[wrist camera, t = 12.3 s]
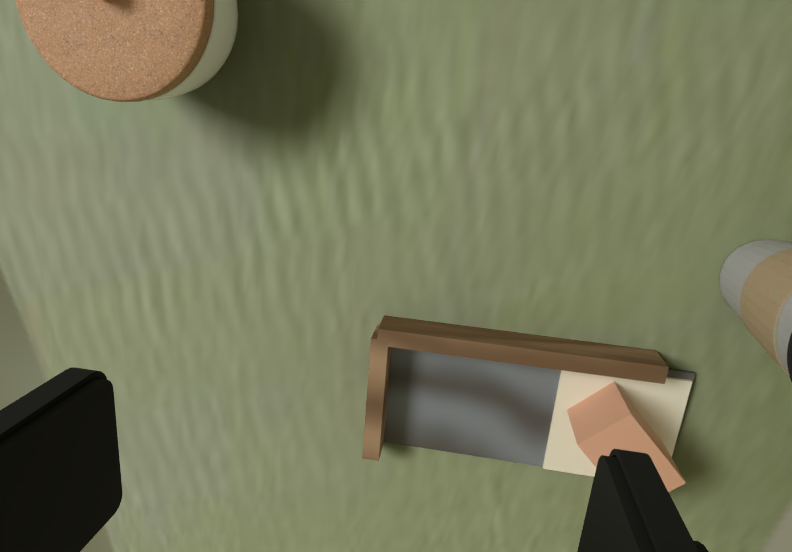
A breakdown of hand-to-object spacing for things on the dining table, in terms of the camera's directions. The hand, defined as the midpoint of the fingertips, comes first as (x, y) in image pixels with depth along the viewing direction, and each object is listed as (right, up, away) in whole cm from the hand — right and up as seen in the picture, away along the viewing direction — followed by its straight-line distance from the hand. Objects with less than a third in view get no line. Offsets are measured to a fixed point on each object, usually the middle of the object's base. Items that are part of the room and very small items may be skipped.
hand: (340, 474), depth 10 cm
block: (+19, -9, +34) cm, 40 cm away
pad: (+19, -9, +34) cm, 40 cm away
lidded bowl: (-15, +23, +31) cm, 41 cm away
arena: (+12, -7, +35) cm, 38 cm away
